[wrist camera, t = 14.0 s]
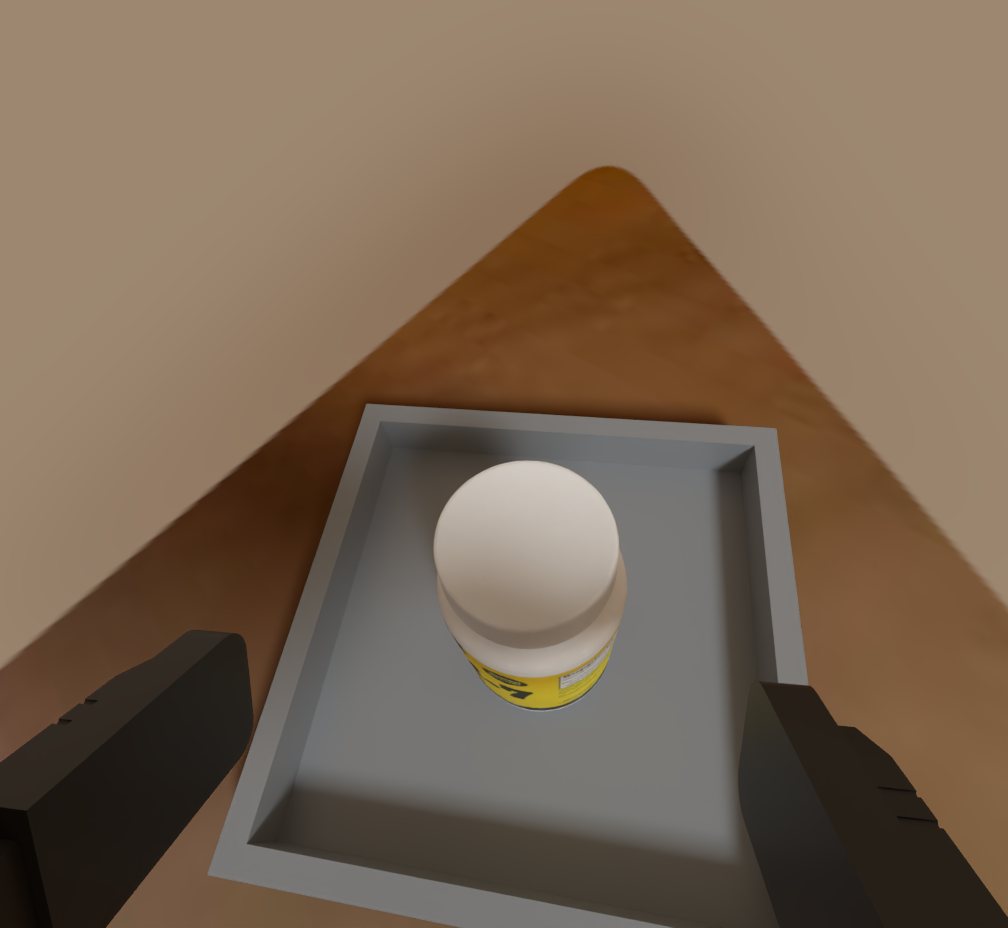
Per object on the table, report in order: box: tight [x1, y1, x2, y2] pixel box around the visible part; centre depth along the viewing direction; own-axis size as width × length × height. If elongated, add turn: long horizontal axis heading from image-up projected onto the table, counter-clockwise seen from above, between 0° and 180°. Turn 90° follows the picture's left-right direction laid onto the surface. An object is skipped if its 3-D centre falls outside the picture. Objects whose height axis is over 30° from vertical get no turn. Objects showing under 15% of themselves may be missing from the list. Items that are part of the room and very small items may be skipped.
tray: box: [207, 404, 808, 928], centre depth 19 cm, size 16×16×2 cm
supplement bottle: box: [433, 460, 627, 712], centre depth 15 cm, size 5×5×8 cm
